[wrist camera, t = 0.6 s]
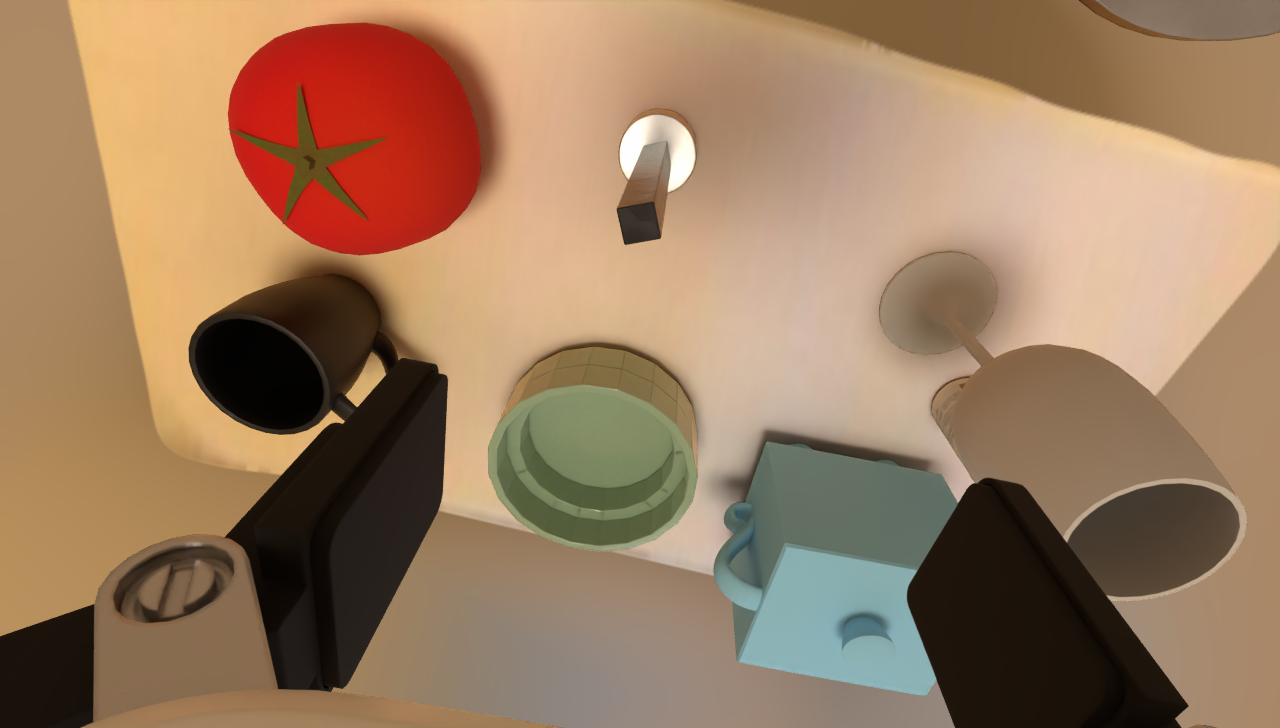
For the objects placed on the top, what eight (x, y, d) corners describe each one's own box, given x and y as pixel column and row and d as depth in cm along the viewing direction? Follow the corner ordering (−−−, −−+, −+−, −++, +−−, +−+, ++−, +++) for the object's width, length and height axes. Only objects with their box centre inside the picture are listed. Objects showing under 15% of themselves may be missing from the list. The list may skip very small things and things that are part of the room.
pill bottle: (1010, 392, 42) (1070, 462, 35) (965, 437, 44) (1014, 510, 37) (960, 365, 41) (1012, 430, 35) (916, 411, 43) (958, 481, 37)
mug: (412, 408, 47) (352, 489, 38) (268, 316, 44) (168, 383, 35) (466, 335, 43) (412, 408, 35) (312, 230, 40) (213, 283, 32)
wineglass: (939, 224, 37) (1184, 417, 19) (1024, 292, 39) (1326, 531, 20) (851, 315, 40) (985, 555, 22) (933, 374, 42) (1121, 643, 24)
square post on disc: (689, 101, 35) (688, 150, 21) (701, 178, 37) (707, 270, 23) (615, 117, 35) (565, 174, 21) (630, 191, 37) (595, 289, 23)
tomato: (268, 59, 35) (119, 69, 26) (457, -8, 33) (366, -23, 24) (360, 241, 40) (263, 303, 31) (529, 194, 38) (478, 247, 29)
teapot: (695, 527, 50) (696, 683, 38) (727, 420, 45) (741, 563, 33) (949, 574, 51) (1029, 743, 39) (1012, 474, 45) (1128, 634, 33)
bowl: (678, 328, 42) (676, 371, 36) (708, 486, 48) (710, 541, 43) (486, 357, 44) (458, 401, 39) (540, 504, 50) (522, 559, 45)
